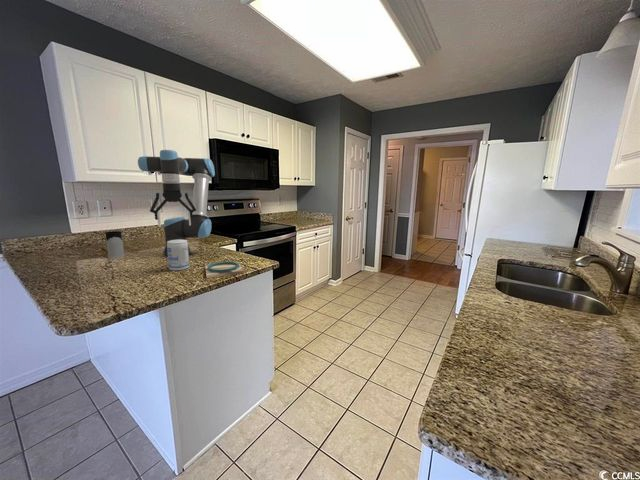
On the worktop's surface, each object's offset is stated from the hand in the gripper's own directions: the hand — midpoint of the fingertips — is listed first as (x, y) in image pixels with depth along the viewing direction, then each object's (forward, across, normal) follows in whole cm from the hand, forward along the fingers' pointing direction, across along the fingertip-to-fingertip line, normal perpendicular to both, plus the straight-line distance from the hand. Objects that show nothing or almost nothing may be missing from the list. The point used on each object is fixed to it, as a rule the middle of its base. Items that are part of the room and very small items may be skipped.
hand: (175, 225), depth 134 cm
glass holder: (+23, -37, +44) cm, 62 cm away
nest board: (+23, +21, -13) cm, 33 cm away
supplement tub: (+23, 0, 0) cm, 23 cm away
